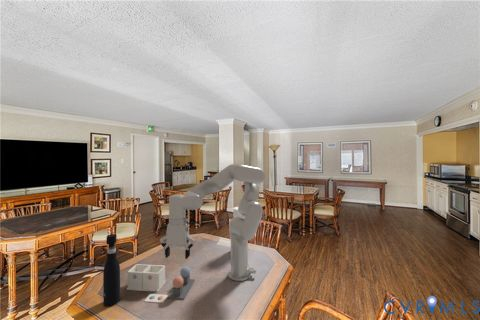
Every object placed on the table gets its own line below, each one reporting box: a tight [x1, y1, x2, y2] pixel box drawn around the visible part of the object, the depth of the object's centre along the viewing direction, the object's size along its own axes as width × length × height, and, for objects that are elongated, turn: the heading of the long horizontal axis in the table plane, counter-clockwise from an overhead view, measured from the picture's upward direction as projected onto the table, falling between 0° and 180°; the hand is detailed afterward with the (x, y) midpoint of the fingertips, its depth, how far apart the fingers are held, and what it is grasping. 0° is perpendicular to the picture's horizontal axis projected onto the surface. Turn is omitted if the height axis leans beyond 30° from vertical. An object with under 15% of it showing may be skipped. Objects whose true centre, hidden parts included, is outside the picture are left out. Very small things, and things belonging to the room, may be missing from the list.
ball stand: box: [166, 273, 196, 300], centre depth 101 cm, size 8×15×4 cm, turn 174°
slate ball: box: [179, 266, 191, 277], centre depth 106 cm, size 5×5×5 cm
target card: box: [143, 293, 169, 304], centre depth 94 cm, size 9×5×1 cm, turn 84°
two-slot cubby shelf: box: [126, 263, 167, 293], centre depth 104 cm, size 16×8×9 cm, turn 84°
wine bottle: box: [102, 233, 121, 308], centre depth 92 cm, size 6×6×30 cm
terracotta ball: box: [172, 275, 184, 288], centre depth 97 cm, size 5×5×5 cm
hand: (177, 257), depth 97 cm, fingers open, 9 cm apart
